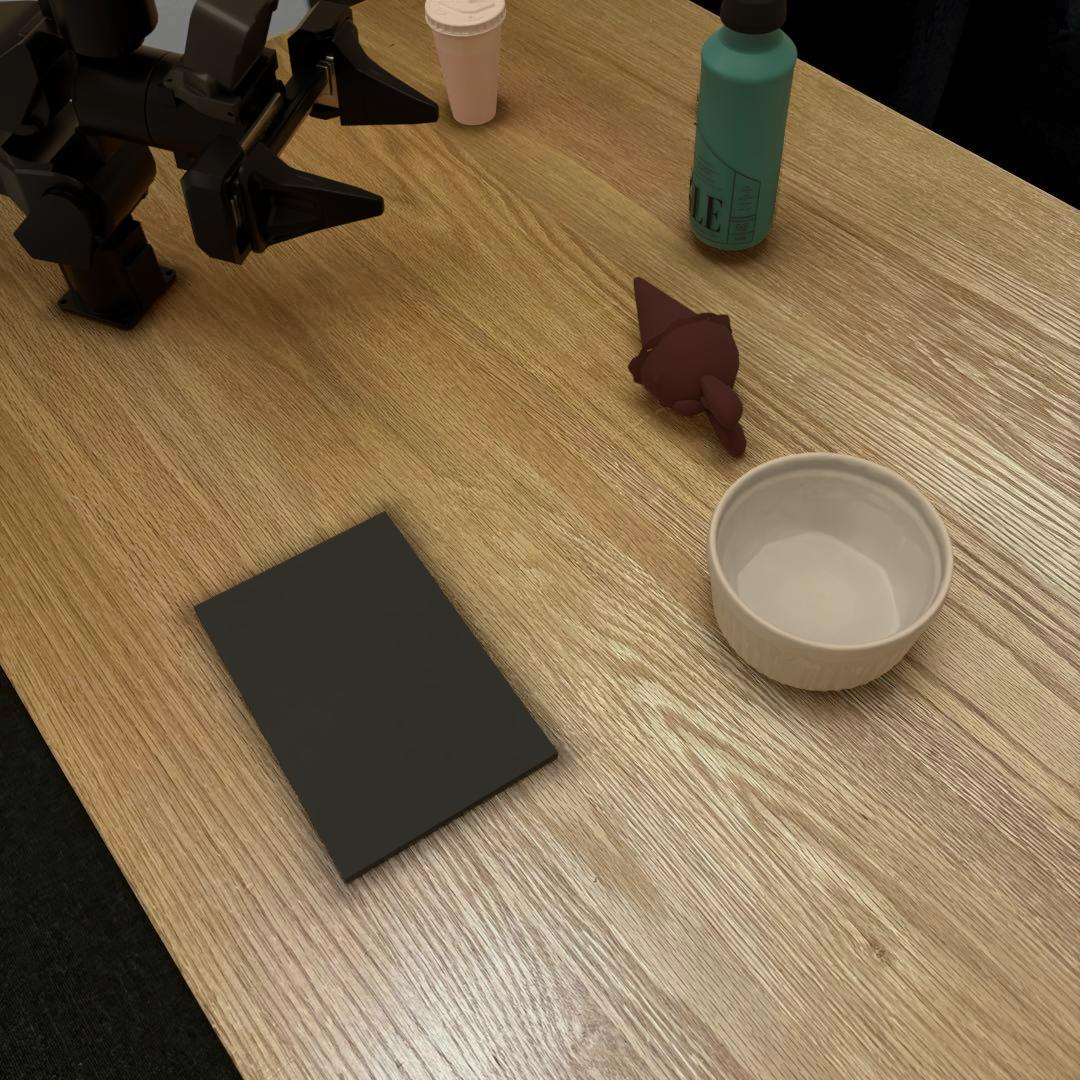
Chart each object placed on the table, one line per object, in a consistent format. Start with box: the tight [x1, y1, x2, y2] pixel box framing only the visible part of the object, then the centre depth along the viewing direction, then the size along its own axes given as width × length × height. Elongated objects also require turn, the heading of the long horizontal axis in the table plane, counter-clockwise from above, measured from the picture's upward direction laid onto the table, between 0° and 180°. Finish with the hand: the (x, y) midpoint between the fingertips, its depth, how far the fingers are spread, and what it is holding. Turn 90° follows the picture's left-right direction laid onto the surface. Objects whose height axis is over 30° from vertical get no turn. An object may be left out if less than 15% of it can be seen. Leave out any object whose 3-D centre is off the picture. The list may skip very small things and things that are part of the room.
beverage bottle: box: [686, 0, 798, 251], centre depth 82 cm, size 6×7×20 cm
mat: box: [193, 510, 559, 884], centre depth 68 cm, size 20×13×1 cm, turn 32°
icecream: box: [627, 276, 748, 459], centre depth 78 cm, size 7×7×15 cm
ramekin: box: [705, 451, 955, 692], centre depth 67 cm, size 13×13×7 cm
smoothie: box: [424, 0, 507, 126], centre depth 95 cm, size 6×6×14 cm
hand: (411, 158), depth 70 cm, fingers open, 9 cm apart
